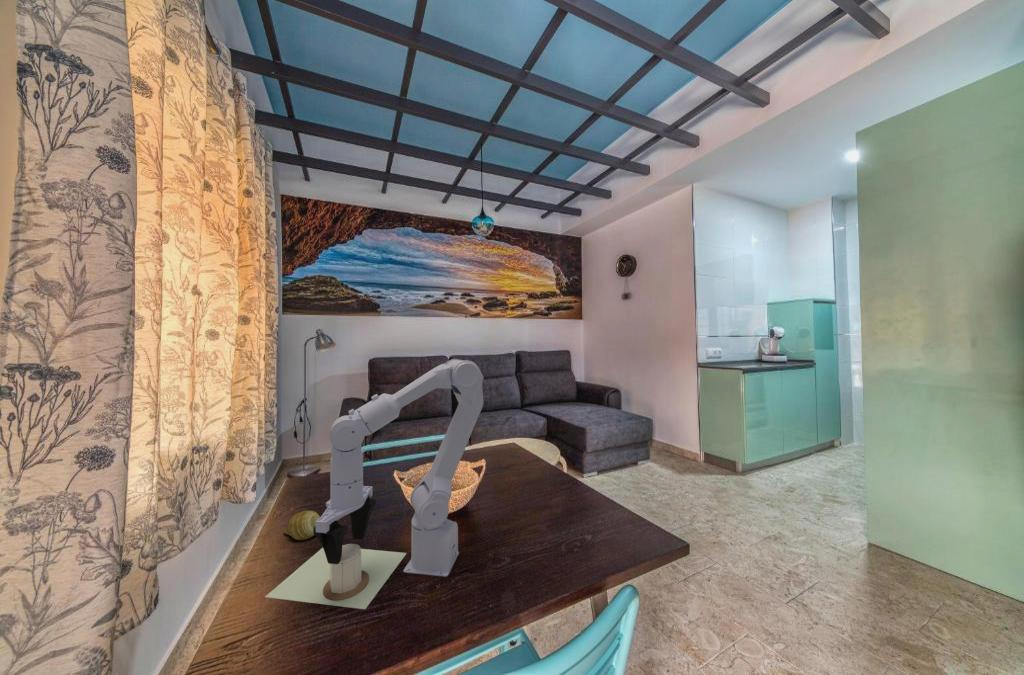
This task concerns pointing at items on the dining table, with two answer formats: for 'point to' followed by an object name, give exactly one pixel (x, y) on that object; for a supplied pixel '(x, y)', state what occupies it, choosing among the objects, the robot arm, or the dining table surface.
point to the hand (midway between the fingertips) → (347, 549)
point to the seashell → (302, 525)
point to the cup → (346, 570)
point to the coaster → (348, 594)
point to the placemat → (316, 574)
